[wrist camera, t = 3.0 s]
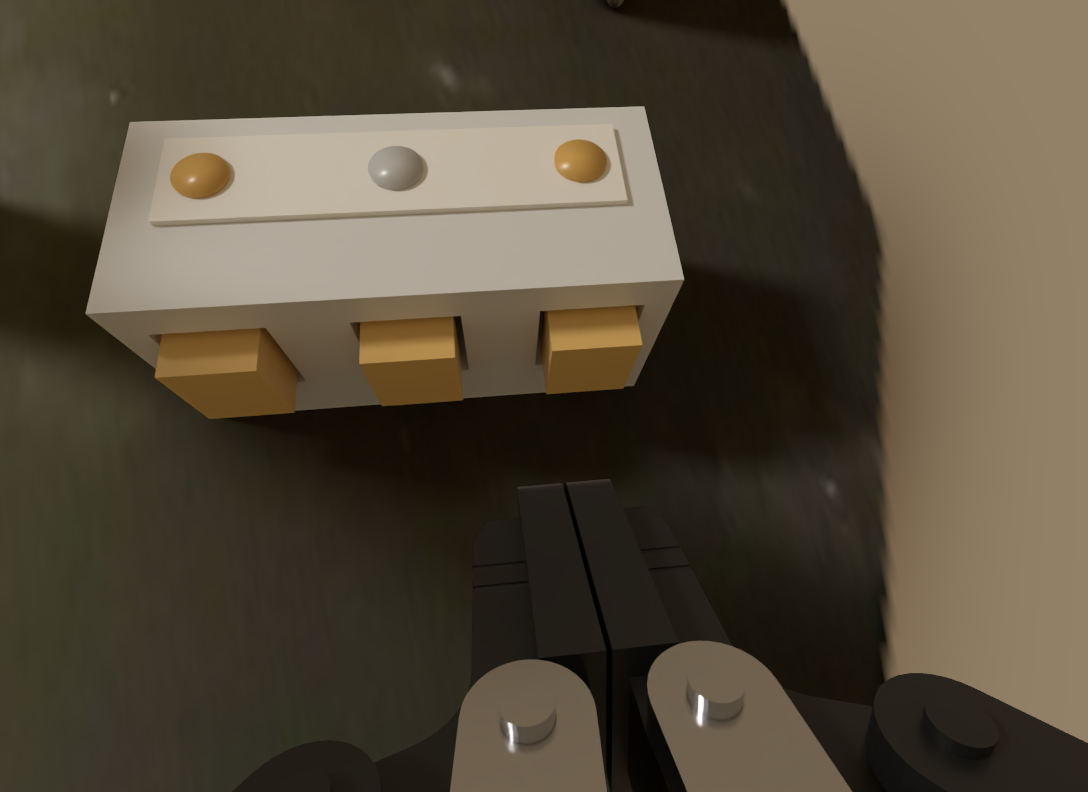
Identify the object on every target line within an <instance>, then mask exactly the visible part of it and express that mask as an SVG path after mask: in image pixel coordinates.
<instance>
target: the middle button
mask: <svg viewBox="0 0 1088 792" xmlns="http://www.w3.org/2000/svg"><path fill="white" fill-rule="evenodd" d="M359 365H360V366H361V368H362V370H363V372H364V374H365V376H366V378H367V379H368V381H369V383H370V385H371V387H372V389H373V391H374V393H375V394H376V396H377V398H378V400H379V402H380V404H381V406H393V405H407V404H420V403H434V402H448V401H461V400H463V388H462V369H461V351H460V345H459V340H458V334H457V328H456V322H455V316H450V317H434V318H418V319H401V320H385V321H368V322H360V352H359Z"/></svg>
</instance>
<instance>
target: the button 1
mask: <svg viewBox="0 0 1088 792" xmlns="http://www.w3.org/2000/svg"><path fill="white" fill-rule="evenodd" d="M297 372H298V369H297V368H296V367H295V366H294V364H293V363H292V362H291V360H290V359H289V358H288V356H287V355H286V354H285V353H284V351H283V350H282V349H281V347H280V346H279V345H278V343H277V342H276V341H275V340H274V338H273V337H272V336H271V334H270V333H269V332H268V330H267V329H266V328H254V329H237V330H221V331H205V332H188V333H172V334H162V338H161V343H160V349H159V355H158V361H157V367H156V373H155V378H156V379H157V380H158V381H160V382H161V383H162V384H164V385H165V386H166V387H167V388H169V389H170V390H171V391H173V392H174V393H175V394H177V395H178V396H179V397H181V398H182V399H183V400H185V401H186V402H187V403H189V404H190V405H191V406H193V407H194V408H195V409H197V410H198V411H199V412H201V413H202V414H203V415H205V416H206V417H207V418H209V419H217V418H230V417H244V416H258V415H271V414H285V413H295V402H296V387H297Z"/></svg>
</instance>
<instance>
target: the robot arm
mask: <svg viewBox="0 0 1088 792" xmlns="http://www.w3.org/2000/svg"><path fill="white" fill-rule="evenodd" d="M517 490H518V509H519V518H515V519H504V520H493V521H487V522H486V523H485V525H484V526H483V528H482V530H481V531H480V533H479V534H478V536H477V537H476V539H475V540H474V542H473V603H472V674H471V683H470V687H469V690H468V694H467V695H466V697H465V699H464V701H463V704H462V705H461V707H460V708H459V710H458V711H457V713H456V714H455V715H454V716H453V717H452V718H451V720H450V721H449V722H448V723H447V724H446V725H444V726H443V727H442V728H441V729H440V730H439V731H438V732H436V733H435V734H433V735H432V736H430V737H429V738H427V739H425V740H423V741H421V742H420V743H418V744H416V745H414V746H411V747H409V748H407V749H404V750H402V751H400V752H398V753H395V754H393V755H391V756H388V757H386V758H384V759H381V760H379V761H377V762H375V763H373V762H372V760H371V759H370V757H369V756H368V755H367V754H365V753H364V752H363V751H362V750H361V749H359V748H357V747H355V746H353V745H351V744H348V743H344V742H341V741H330V740H327V741H316V742H311V743H306V744H303V745H300V746H297V747H294V748H291V749H289V750H287V751H285V752H283V753H281V754H279V755H277V756H275V757H274V758H272V759H271V760H269V761H268V762H266V763H265V764H263V765H262V766H261V767H260V768H258V769H257V770H256V771H255V772H253V773H252V774H251V775H250V776H249V777H248V778H247V779H246V780H244V781H243V782H242V783H241V784H240V785H239V786H238V787H237V788H236V789H235V790H233V791H232V792H607V789H606V774H607V778H608V783H609V788H610V792H1088V743H1086V742H1084V741H1082V740H1080V739H1078V738H1076V737H1074V736H1072V735H1069V734H1067V733H1065V732H1063V731H1061V730H1059V729H1057V728H1055V727H1053V726H1051V725H1049V724H1047V723H1045V722H1043V721H1041V720H1039V719H1037V718H1035V717H1033V716H1031V715H1029V714H1026V713H1024V712H1022V711H1020V710H1018V709H1016V708H1014V707H1012V706H1010V705H1008V704H1006V703H1004V702H1002V701H1000V700H998V699H996V698H994V697H991V696H989V695H987V694H985V693H983V692H981V691H979V690H977V689H975V688H973V687H971V686H968V685H966V684H963V683H961V682H958V681H955V680H952V679H949V678H946V677H942V676H937V675H932V674H923V673H909V674H904V675H898V676H895V677H893V678H890V679H889V680H887V681H886V682H884V683H883V684H882V685H881V686H880V688H879V689H878V690H877V693H876V695H875V698H874V702H873V706H868V705H862V704H856V703H850V702H843V701H837V700H831V699H825V698H819V697H813V696H809V695H804V694H800V693H797V692H794V691H791V690H788V689H786V688H784V687H781V685H780V684H779V682H778V681H777V679H776V678H775V677H774V676H773V674H772V673H771V672H770V671H769V670H768V669H767V668H766V667H765V666H764V665H763V664H762V663H761V662H759V661H758V660H757V659H755V658H754V657H753V656H751V655H749V654H747V653H746V652H744V651H742V650H740V649H737V648H735V647H733V646H732V644H731V642H730V641H729V639H728V637H727V635H726V633H725V631H724V629H723V627H722V625H721V624H720V622H719V620H718V618H717V616H716V614H715V612H714V610H713V608H712V606H711V605H710V603H709V601H708V599H707V597H706V595H705V593H704V591H703V589H702V588H701V586H700V584H699V582H698V580H697V578H696V576H695V574H694V572H693V570H692V569H690V567H689V563H688V561H687V559H686V557H685V555H684V553H683V552H682V550H680V547H679V544H678V542H677V540H676V538H675V536H674V534H673V533H672V531H671V529H670V527H669V525H668V524H667V523H666V522H665V521H664V520H662V519H661V518H660V517H658V516H657V515H656V514H654V513H653V512H652V511H651V510H649V509H648V508H647V507H634V508H622V506H621V503H620V501H619V499H618V496H617V494H616V491H615V489H614V487H613V484H612V482H611V480H610V479H602V480H590V481H579V482H567V483H565V485H564V488H563V485H562V483H557V484H546V485H534V486H523V487H517Z"/></svg>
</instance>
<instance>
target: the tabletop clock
mask: <svg viewBox="0 0 1088 792" xmlns="http://www.w3.org/2000/svg"><path fill="white" fill-rule="evenodd" d="M606 1H607V3H608V5H609V6H610V7H612V8H617V7H619V6H621V4H622V3H623V1H624V0H606Z"/></svg>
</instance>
